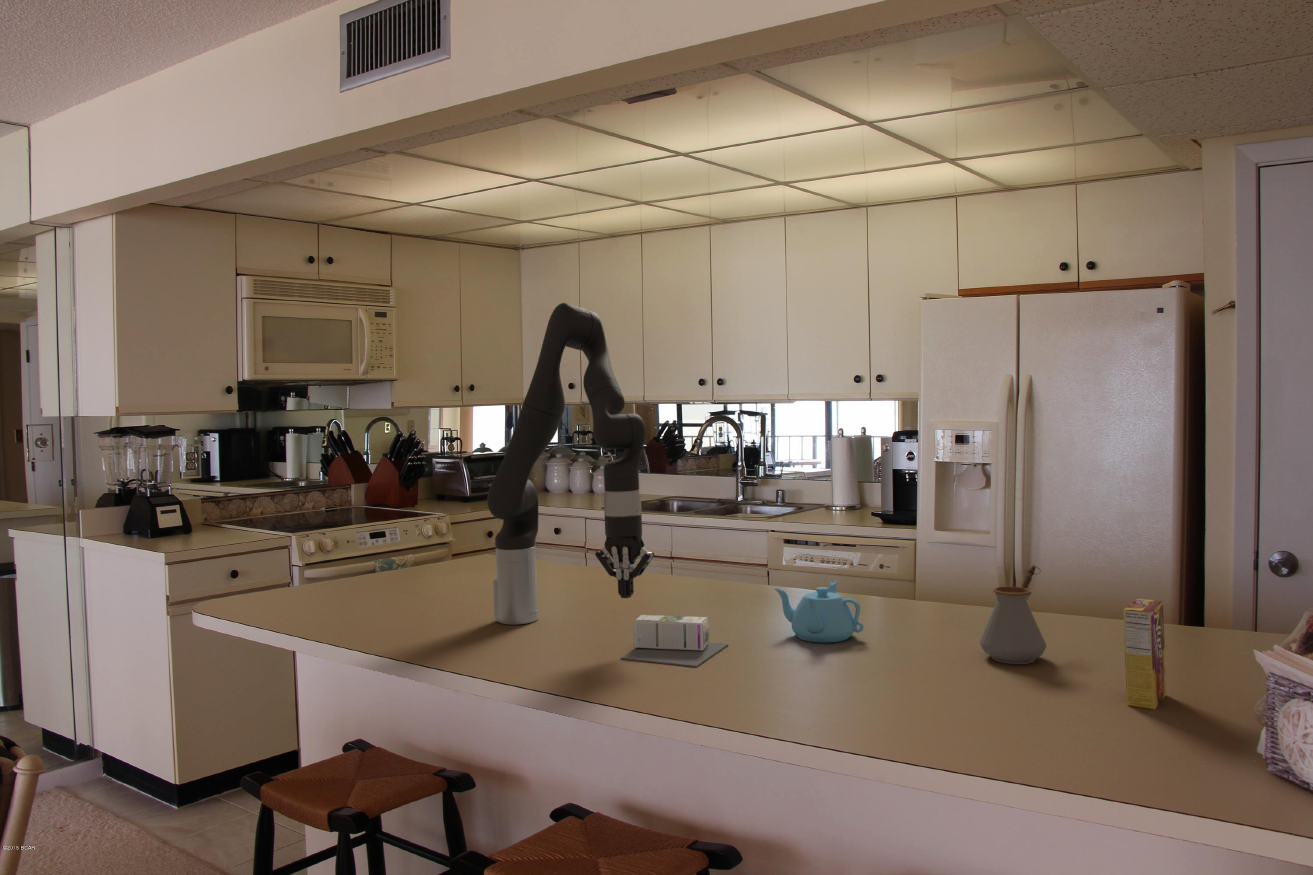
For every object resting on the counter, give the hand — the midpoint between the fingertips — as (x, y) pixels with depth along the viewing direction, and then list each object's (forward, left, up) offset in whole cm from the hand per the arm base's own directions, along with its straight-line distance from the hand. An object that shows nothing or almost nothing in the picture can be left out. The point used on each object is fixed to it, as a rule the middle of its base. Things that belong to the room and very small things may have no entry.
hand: (626, 597), depth 183 cm
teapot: (+34, +21, -11) cm, 41 cm away
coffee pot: (+73, +22, -11) cm, 77 cm away
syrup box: (+1, +1, -7) cm, 7 cm away
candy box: (+93, 0, -11) cm, 93 cm away
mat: (+11, 0, -10) cm, 15 cm away
